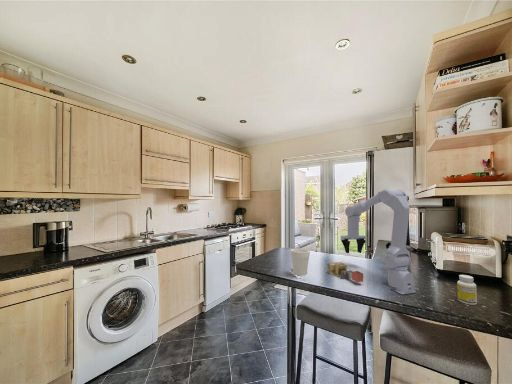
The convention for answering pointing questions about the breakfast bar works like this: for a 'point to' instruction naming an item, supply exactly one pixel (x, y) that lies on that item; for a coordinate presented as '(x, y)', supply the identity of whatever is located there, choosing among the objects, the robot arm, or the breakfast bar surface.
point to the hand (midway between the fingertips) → (353, 252)
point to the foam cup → (300, 261)
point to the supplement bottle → (466, 290)
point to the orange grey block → (354, 275)
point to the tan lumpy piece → (337, 268)
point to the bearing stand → (342, 276)
